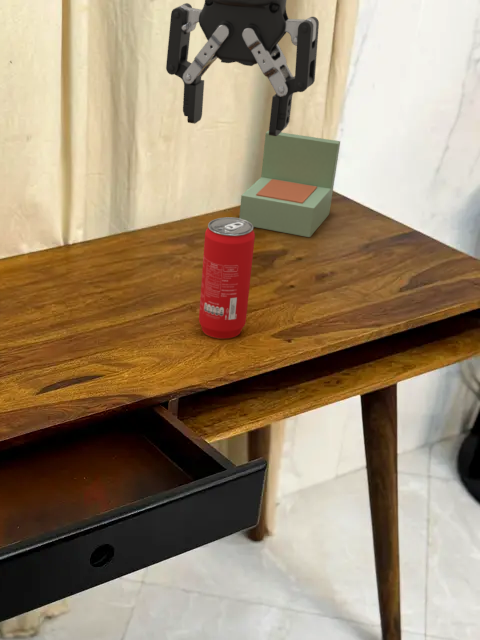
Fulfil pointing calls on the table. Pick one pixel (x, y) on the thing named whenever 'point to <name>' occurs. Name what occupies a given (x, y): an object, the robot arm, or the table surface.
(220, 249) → the beverage can
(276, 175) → the shelf stand
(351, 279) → the table surface
